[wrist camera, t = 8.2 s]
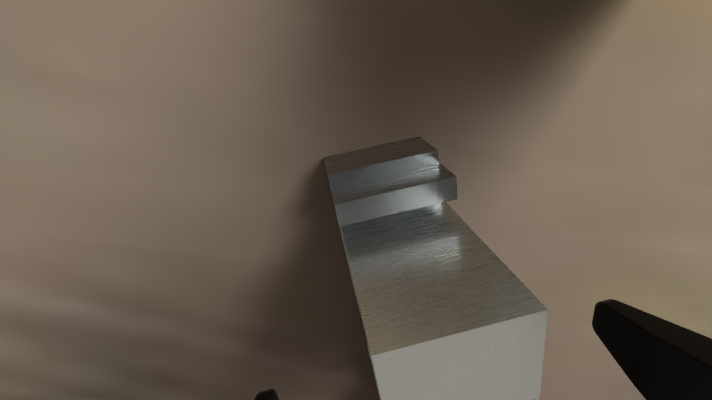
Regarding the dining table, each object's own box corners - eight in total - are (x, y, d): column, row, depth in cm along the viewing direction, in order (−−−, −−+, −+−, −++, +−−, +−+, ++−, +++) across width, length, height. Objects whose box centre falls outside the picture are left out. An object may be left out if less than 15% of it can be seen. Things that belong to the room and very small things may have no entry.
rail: (446, 408, 21) (520, 590, 14) (385, 425, 21) (430, 619, 14) (419, 136, 14) (552, 235, 7) (323, 158, 13) (352, 285, 6)
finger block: (449, 291, 15) (536, 432, 9) (360, 313, 14) (397, 472, 9) (442, 198, 13) (548, 309, 7) (339, 222, 12) (371, 355, 7)
